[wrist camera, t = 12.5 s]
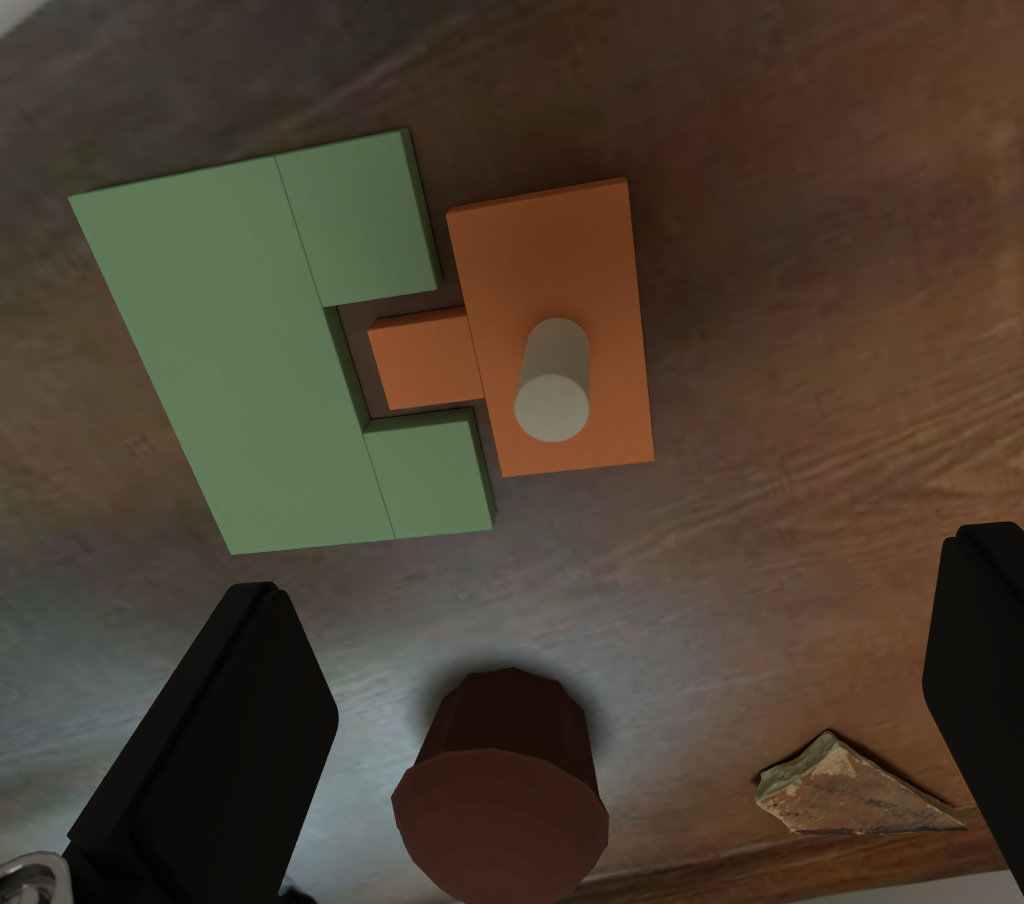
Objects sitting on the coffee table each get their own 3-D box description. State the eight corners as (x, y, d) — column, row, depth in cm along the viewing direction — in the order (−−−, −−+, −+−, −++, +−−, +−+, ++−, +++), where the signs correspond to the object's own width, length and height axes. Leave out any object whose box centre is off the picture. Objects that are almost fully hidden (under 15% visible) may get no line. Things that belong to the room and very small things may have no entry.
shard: (958, 807, 43) (972, 835, 41) (857, 859, 46) (866, 887, 45) (834, 724, 41) (844, 750, 39) (737, 785, 44) (742, 812, 42)
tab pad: (348, 224, 29) (280, 272, 23) (625, 175, 27) (637, 213, 21) (418, 471, 35) (379, 567, 28) (652, 445, 33) (668, 541, 26)
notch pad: (89, 190, 29) (66, 196, 28) (408, 127, 27) (399, 130, 26) (243, 538, 38) (230, 555, 37) (496, 512, 36) (493, 530, 34)
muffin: (646, 719, 42) (662, 893, 33) (532, 803, 47) (520, 974, 38) (486, 618, 39) (457, 779, 30) (382, 718, 44) (332, 882, 35)
